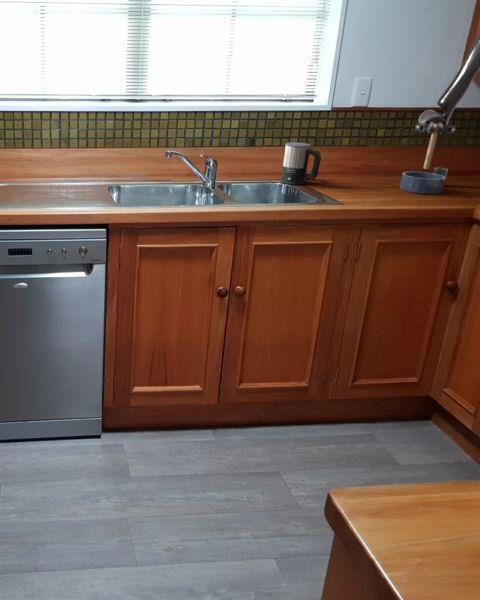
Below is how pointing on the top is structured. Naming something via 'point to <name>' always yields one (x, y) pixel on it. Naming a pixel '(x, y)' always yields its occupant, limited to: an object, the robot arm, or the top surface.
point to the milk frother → (299, 163)
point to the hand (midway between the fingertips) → (435, 130)
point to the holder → (441, 171)
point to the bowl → (422, 182)
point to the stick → (431, 146)
